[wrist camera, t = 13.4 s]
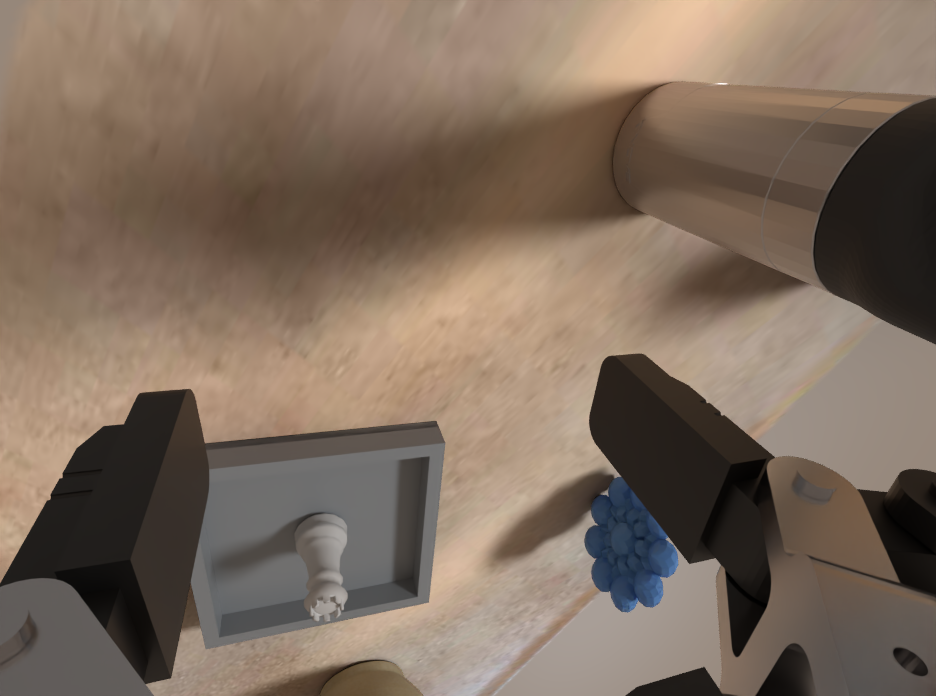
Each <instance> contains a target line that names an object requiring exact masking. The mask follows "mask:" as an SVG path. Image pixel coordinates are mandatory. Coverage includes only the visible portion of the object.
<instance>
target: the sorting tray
mask: <svg viewBox="0 0 936 696" xmlns="http://www.w3.org/2000/svg"><path fill="white" fill-rule="evenodd" d="M205 447H206V452H207V457H208V463H209V493H208V499H207V504H206V509H205V514H204V519H203V523H202V528H201V533H200V538H199V543H198V548H197V553H196V558H195V563H194V568H193V573H192V578H191V586H192V590H193V595H194V599H195V604H196V608H197V612H198V617H199V621H200V626H201V630H202V635H203V639H204V643H205V648H206V649H210V648H214V647H219V646H224V645H229V644H233V643H238V642H243V641H248V640H252V639H257V638H262V637H267V636H271V635H276V634H281V633H286V632H290V631H295V630H300V629H305V628H310V627H314V626H319V625H324V624H329V623H333V622H338V621H343V620H348V619H352V618H357V617H362V616H367V615H371V614H376V613H381V612H386V611H390V610H395V609H400V608H405V607H410V606H414V605H419V604H424V603H429V595H430V586H431V576H432V566H433V557H434V547H435V537H436V528H437V518H438V508H439V499H440V489H441V479H442V469H443V460H444V450H445V441H444V439H443V436H442V434H441V431H440V429H439V426H438V424H437V422H436V421H432V422H422V423H412V424H402V425H391V426H381V427H371V428H361V429H351V430H340V431H330V432H320V433H310V434H300V435H289V436H279V437H269V438H259V439H249V440H238V441H228V442H218V443H208V444H205ZM320 513H330V514H334V515H336V516H338V517H339V518H341V519H343V520H344V522H345V523H346V525H347V544H346V546H345V548H344V549H343V553H342V554H341V556H340V566H339V570H340V574H341V575H342V577H343V583H342V584H341V587H343V588H344V589H345V590H346V592H347V593H348V599H347V600H346V602H345V604H344V610H341V615H340V616H339V617H338V618H335V617H334V614H332V615H330V621H329V622H324V621H323V617H319V621H318V622H316V621H313V620H312V616H311V617H310V615H309V612H308V611H307V610H306V609H305V607H304V600H305V598H306V596H307V595H308V594H309V591H308V590H307V589H306V583H307V582H308V580H309V576H308V571H307V566H306V563H305V562H304V561H303V559H302V558H301V556H300V555H299V554H298V552H297V550H296V541H295V532H296V530H297V528H298V526H299V525H300V524H301V523H302V522H303V521H304V520H306V519H307V518H308V517H310V516H313V515H315V514H320Z"/></svg>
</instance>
